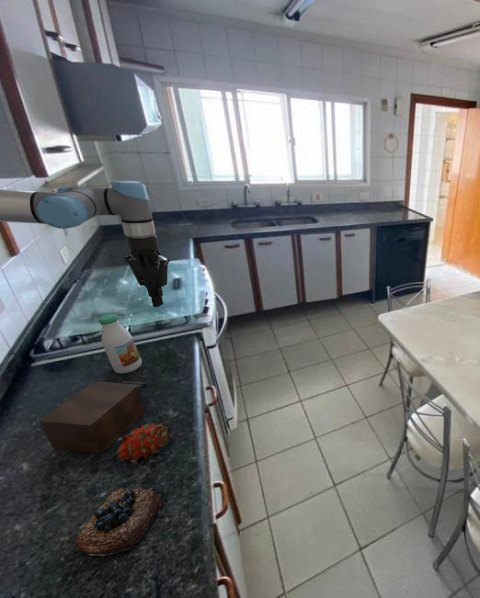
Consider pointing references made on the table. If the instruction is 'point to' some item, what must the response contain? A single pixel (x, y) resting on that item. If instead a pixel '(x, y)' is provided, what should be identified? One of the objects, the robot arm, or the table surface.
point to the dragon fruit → (143, 442)
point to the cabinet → (93, 417)
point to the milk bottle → (119, 345)
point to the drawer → (138, 384)
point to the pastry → (119, 521)
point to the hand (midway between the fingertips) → (158, 305)
